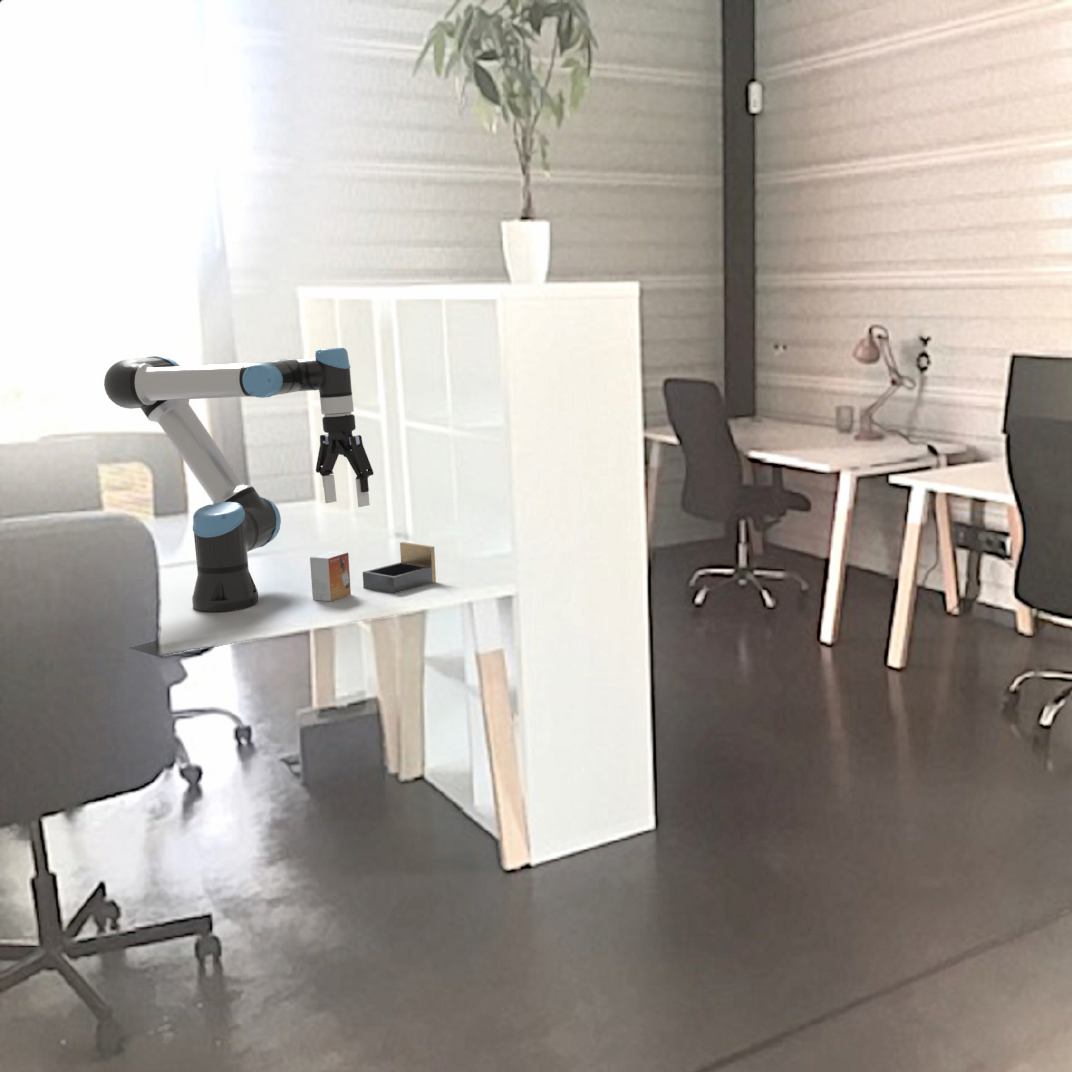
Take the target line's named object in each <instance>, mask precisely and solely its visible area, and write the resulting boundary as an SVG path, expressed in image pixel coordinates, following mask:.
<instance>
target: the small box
mask: <svg viewBox="0 0 1072 1072" xmlns="http://www.w3.org/2000/svg"><path fill="white" fill-rule="evenodd" d="M349 558H350V557H349V552H346V551H337V550H329V551H326V552H324V553H320V554H317V555H314V556H313V555H312V556H310V557H309V564H310V575H311V576H310V578H311V591H312V593H311V594H312V600H314V601H323V602H324V601H325V602H333V601H335V600H338V599H341V598H344V597H348V596H350V595H351V594H352V592H351V578H350V577H351V576H350V574H351V573H350V560H349Z"/></svg>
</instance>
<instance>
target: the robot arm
mask: <svg viewBox="0 0 1072 1072" xmlns="http://www.w3.org/2000/svg"><path fill="white" fill-rule="evenodd" d="M348 353H349V352H348V351H347V349H346V348H345V347H332V348H318V349H316V351H315V356H314V357H311V358H293V359H289V358H285V359H279V360H274V361H268V362H253V363H252V362H251V363H228V364H227V363H226V364H224V363H223V364H207V365H205V364H204V365H203V364H202V365H184V366H183V365H182V366H180V364H178V363H177V362H176V361H174V360H173V359H170V358H167V357H164V356H163V357H161V356H155V355H154V356H148V357H145V358H144V357H143V358H132V359H123V360H120V361H117V362H115V363H114V364H112V365H111V366H110V367H109V368H108V370H107V371H106V374H105V375H104V380H103V386H104V387H103V388H104V390H105V392H106V393H105V394H106V395H107V397H108V399H110V400H111V402H112V403H114V404H115V405H117V406H119V407H120V408H123V409H141V411H142V412H143V414H144V415H145V417H147V420H148V421H150V422H154V423H158V425H160V427H161V429H162V430H163V432H164V433H165V435H166V436H167V437H168V439H169V440H170V441H171V443H172V444H173V446H174V448H175V449H176V450H177V452H178V453H179V454H180V456H181V458H182V459H183V461H184V462H185V463H186V465H187V467H188V468H189V470H190V471H191V472H192V474H193V475H194V477H195V478H196V480H197V481H198V483H199V484H200V486H201V487H202V489H203V490H204V491H205V493H206V495H207V496H208V497H209V499H210V501H211V502H212V504H207V505H203V506H202V507H200V508H198V509H197V510H196V511H195V512H194V514H193V517H192V519H193V520H192V522H193V523H192V531H193V538H194V547H195V548H194V549H195V558H196V568H197V569H196V570H197V578H196V581H195V586H194V590H193V595H192V599H191V600H192V608H193V609H195V610H197V611H202V612H209V613H210V612H212V613H213V612H215V613H216V612H230V611H235V610H237V611H238V610H241V609H242V610H243V609H247V608H250V607H252V606H255V605H256V604H258V603H259V600H260V599H259V598H260V597H259V592H258V589H257V586H256V585H255V584H256V583H255V582H254V580H253V577H252V575H251V571H250V570H249V562H248V561H249V560H248V552H250V551H253V550H256V549H258V548H263V547H264V546H266V545H267V544H268V543H271V542H272V541H273V540H274V539H275V538H276V537H277V536H278V534H279V532H280V530H281V524H282V518H281V517H282V516H281V513H280V511H279V509H278V507H277V505H276V504H275V503H274V502H273V500H270V499H269V498H265V497H262V496H260V495H259V493H258V492H257V490H256V489H255V488H254V486H253V485H250V484H245V483H244V482H243V481H242V480H241V478H240V476H239V475H238V474H237V472H236V471H235V470H234V467H232V465H231V464H230V462H229V461H228V458H226V456H225V455H224V453H223V452H222V450H221V449H220V448H219V446H218V445H217V443H216V441H215V440H214V439H213V438H212V436H211V435H210V433H209V432H208V430H207V428H206V427H205V426H204V424H203V422H202V421H201V420H200V419H199V417H198V415H197V414H196V412H195V411H194V410H193V408H192V406H191V405H190V400H194V399H195V400H197V399H198V400H199V399H221V398H222V399H223V398H224V399H225V398H247V397H249V398H251V397H252V398H253V397H255V398H260V399H261V398H262V399H263V398H271V397H272V396H277V395H284V394H290V393H296V392H297V393H298V392H307V391H319V403H320V413H321V414H322V415H324V416H323V417H322V418H321V420H322V431H323V432H324V433H326V434H320V435H319V450H318V455H317V461H316V466H315V472H316V473H319V474H320V476H322V477H321V478H322V486H323V491H324V500H325V501H324V502H325V504H329V503H330V504H331V503H336V502H337V492H336V491H337V490H336V485H335V484H336V483H335V475H334V472H333V470H334V467H335V465H336V463H337V460H338V457H339V455H342V456H343V457H344V458H346V460H347V461H348V462H349V464H350V467H351V468H352V470H353V472H354V473H355V475H356V477H355V488H356V497H357V505H358V508H362V507H367V506H370V496H369V493H370V492H369V490H370V489H369V477H370V476H373V475H374V470H373V467H372V465H371V463H370V460H369V457H368V454H367V452H366V449H365V447H364V442H363V439H362V436H361V435H360V434H359V435H358V434H357V435H353V431H355V430H356V427H357V426H356V417H355V414H354V411H355V409H354V401H353V389H352V381H351V380H352V379H351V365H350V360H349V354H348ZM352 413H353V414H352Z"/></svg>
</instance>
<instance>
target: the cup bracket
mask: <svg viewBox="0 0 1072 1072" xmlns="http://www.w3.org/2000/svg"><path fill="white" fill-rule="evenodd" d="M399 550H400V562H397V563H393V564H389V565H384V566H381V567H376V568H374V569H369V570H365V571H363V572H362V583H363V586H362V587H363V589H368V590H374V591H378V592H382V593H388V594H395V595H396V594H399V593H403V592H407V591H409V590H412V589H417V588H419V587H423V586H427V585H430V584H434V583H436V582H437V579H436V578H437V575H436V574H437V573H436V556H435V555H436V554H435V546H432V545H426V544H421V543H419V544H418V543H412V542H406V541H402V542H399Z"/></svg>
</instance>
